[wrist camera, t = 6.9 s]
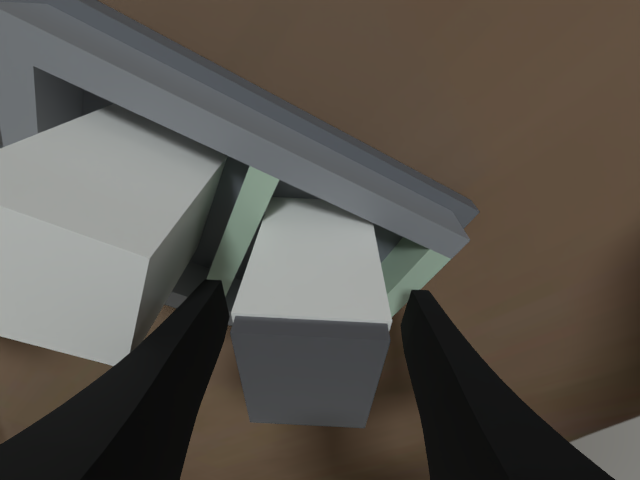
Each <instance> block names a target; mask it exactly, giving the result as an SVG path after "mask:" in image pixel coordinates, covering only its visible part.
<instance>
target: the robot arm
mask: <svg viewBox="0 0 640 480" xmlns="http://www.w3.org/2000/svg"><path fill="white" fill-rule="evenodd" d="M229 317H230V316H229V311H228V307H227V302H226V298H225V293H224V289H223V285H222V280H208V279H205V280H204V281H203V282H202V283H201V284H200V285H199V286H198V287H197V288H196V289H195V290H194V291H193V292H192V293H191V294H190V295H189V296H188V297H187V298H186V299H185V300H184V302H183V303H182V304H181V305H180V306H179V307H178V308H177V309H176V310H175V311H174V312H173V313H172V314H171V315H170V316H169V317H168V318H167V319H166V320H165V321H164V322H163V323H162V324H161V325H160V326H159V327H158V328H157V329H156V330H154V331H153V332H152V333H151V334H150V335H149V336H148V337H147V338H146V339H145V340H144V341H142V342H141V343H140V344H139V345H138V346H137V347H136V348H135V349H134V350H132V351H131V352H130V353H129V354H128V355H127V356H125V357H124V358H123V359H122V360H121V361H120V362H118V363H117V364H116V365H115V366H113V367H112V368H111V369H110V370H108V371H107V372H106V373H105V374H103V375H102V376H101V377H99V378H98V379H97V380H95V381H94V382H93V383H91V384H90V385H89V386H87V387H86V388H85V389H83V390H82V391H81V392H79V393H78V394H76V395H75V396H74V397H72V398H71V399H70V400H68V401H67V402H65V403H64V404H63V405H61V406H60V407H58V408H57V409H55V410H54V411H52V412H51V413H49V414H48V415H46V416H44V417H43V418H41V419H40V420H38V421H37V422H35V423H34V424H32V425H31V426H29V427H28V428H26V429H25V430H23V431H22V432H20V433H18V434H17V435H15V436H14V437H12V438H10V439H9V440H7V441H5V442H4V443H2V444H0V480H180V476H181V472H182V468H183V465H184V461H185V457H186V453H187V449H188V445H189V441H190V438H191V434H192V431H193V427H194V423H195V420H196V416H197V413H198V410H199V407H200V404H201V401H202V399H203V396H204V393H205V391H206V388H207V385H208V383H209V380H210V377H211V375H212V372H213V369H214V367H215V364H216V361H217V359H218V356H219V353H220V351H221V348H222V345H223V342H224V338H225V334H226V330H227V326H228V322H229ZM401 332H402V341H403V348H404V354H405V358H406V362H407V366H408V370H409V374H410V378H411V382H412V386H413V390H414V394H415V398H416V402H417V406H418V410H419V414H420V418H421V423H422V428H423V434H424V440H425V446H426V453H427V459H428V466H429V473H430V480H615V479H614V478H612V477H611V476H610V475H608V474H607V473H606V472H605V471H603V470H602V469H601V468H600V467H598V466H597V465H596V464H595V463H593V462H592V461H591V460H590V459H588V458H587V457H586V456H585V455H584V454H582V453H581V452H580V451H579V450H577V449H576V448H575V447H574V446H573V445H571V444H570V443H569V442H568V441H567V440H566V439H564V438H563V437H562V436H561V435H560V434H559V433H558V432H556V431H555V430H554V429H553V428H552V427H551V426H550V425H549V424H547V423H546V422H545V421H544V420H543V419H542V418H541V417H539V416H538V415H537V414H536V413H535V412H534V411H533V410H532V409H531V408H530V407H529V406H527V405H526V404H525V403H524V402H523V401H522V400H521V399H520V398H519V397H518V396H517V395H516V394H515V393H514V392H513V391H512V390H511V389H510V388H509V387H508V386H507V385H506V384H505V383H504V382H503V381H502V380H501V379H500V378H499V377H498V375H497V374H496V373H495V372H494V371H493V370H492V369H491V368H490V367H489V366H488V364H487V363H486V362H485V361H484V360H483V359H482V358H481V357H480V355H479V354H478V353H477V352H476V351H475V350H474V348H473V347H472V346H471V345H470V344H469V342H468V341H467V340H466V339H465V337H464V336H463V335H462V334H461V332H460V331H459V330H458V329H457V327H456V326H455V325H454V324H453V322H452V321H451V320H450V318H449V317H448V316H447V314H446V313H445V312H444V310H443V309H442V308H441V306H440V305H439V304H438V302H437V301H436V300H435V298H434V297H433V295H432V294H431V293H430V292H429V290H411V293H410V297H409V300H408V303H407V306H406V310H405V313H404V316H403V319H402V323H401Z"/></svg>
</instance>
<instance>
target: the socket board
mask: <svg viewBox="0 0 640 480" xmlns="http://www.w3.org/2000/svg"><path fill="white" fill-rule="evenodd" d="M271 197H283V198H303V199H322V200H325V201H327V202H329V203H331V204H333V205H335V206H338V207H340V208H342V209H344V210H346V211H348V212H351V213H353V214H355V215H357V216H359V217H361V218H364V219H366V220H368V221H370V222H372V223H373V227H374V232H375V237H376V242H377V247H378V252H379V257H380V262H381V267H382V272H383V277H384V282H385V287H386V292H387V297H388V302H389V307H390V312H391V317H393V316H394V315H395V314H396V313H397V312H398V311H399V310H400V309H401V308H402V307H403V306H404V305H405V304H406V303H407V302H408V300H409V297H410V293H411V290H420V289H421V288H422V287H423V286H424V285H425V284H426V283H427V282H428V281H429V280H430V279H431V278H432V277H433V276H434V275H435V274H436V273H437V272H438V271H440V270H441V269H442V268H443V267H444V266H445V265H446V264H447V263H448V262H449V261H450V260H451V259H452V258H453V257H454V256H455V255H456V254H457V253H458V252H459V251H460V250H461V249H462V248H463V247H464V246H465V245H466V244H467V243H468V242H469V241H470V239H469V237H468V236H467V234H466V232H465V231H464V228H465V227H466V226H467V225H468V224H469V223H470V221H471V220H472V219H473V218H474V217H475V216H476V215H477V214H478V213H479V212H480V211H479V210H478V209H477V208H476V206H475V205H474V204H473V202H472V201H471V200H470V199H468V198H466V197H464V196H462V195H460V194H459V193H457V192H455V191H453V190H451V189H449V188H447V187H445V186H444V185H442V184H440V183H438V182H436V181H434V180H432V179H430V178H429V177H427V176H425V175H423V174H421V173H419V172H417V171H416V170H414V169H412V168H410V167H408V166H406V165H404V164H402V163H401V162H399V161H397V160H395V159H393V158H391V157H389V156H387V155H386V154H384V153H382V152H380V151H378V150H376V149H374V148H372V147H371V146H369V145H367V144H365V143H363V142H361V141H359V140H357V139H356V138H354V137H352V136H350V135H348V134H346V133H344V132H342V131H341V130H339V129H337V128H335V127H333V126H331V125H329V124H327V123H326V122H324V121H322V120H320V119H318V118H316V117H314V116H313V115H311V114H309V113H307V112H305V111H303V110H301V109H299V108H298V107H296V106H294V105H292V104H290V103H288V102H286V101H284V100H283V99H281V98H279V97H277V96H275V95H273V94H271V93H269V92H268V91H266V90H264V89H262V88H260V87H258V86H256V85H254V84H253V83H251V82H249V81H247V80H245V79H243V78H241V77H239V76H238V75H236V74H234V73H232V72H230V71H228V70H226V69H224V68H223V67H221V66H219V65H217V64H215V63H213V62H211V61H210V60H208V59H206V58H204V57H202V56H200V55H198V54H196V53H195V52H193V51H191V50H189V49H187V48H185V47H183V46H181V45H180V44H178V43H176V42H174V41H172V40H170V39H168V38H166V37H165V36H163V35H161V34H159V33H157V32H155V31H153V30H151V29H150V28H148V27H146V26H144V25H142V24H140V23H138V22H136V21H135V20H133V19H131V18H129V17H127V16H125V15H123V14H121V13H120V12H118V11H116V10H114V9H112V8H110V7H108V6H107V5H105V4H103V3H101V2H99V1H97V0H0V336H1V337H5V338H9V339H13V340H16V341H20V342H24V343H28V344H32V345H36V346H39V347H43V348H47V349H51V350H55V351H59V352H63V353H66V354H70V355H74V356H78V357H82V358H86V359H89V360H93V361H97V362H101V363H105V364H109V365H112V366H115V365H116V364H117V363H118V362H120V361H121V360H122V359H123V358H124V357H125V356H127V355H128V354H129V353H130V352H131V351H132V350H134V349H135V348H136V347H137V346H138V345H139V344H140V343H141V342H142V341H143V340H144V338H145V336H146V335H147V333H148V331H149V330H150V328H151V326H152V324H153V323H154V321H155V319H156V318H157V316H158V314H159V313H160V311H161V309H162V307H163V306H164V304H165V305H168V306H171V307H174V308H178V307H179V306H180V305H181V304H182V303H183V302H184V300H185V299H186V298H187V297H188V296H189V295H190V294H191V293H192V292H193V291H194V290H195V289H196V288H197V287H198V286H199V285H200V284H201V283H202V282H203V281H204V280H205V279H208V280H222V285H223V289H224V293H225V298H226V302H227V307H228V311H229V316H230V317H229V322H228V325H230V326H232V325H233V320H232V316H231V311H232V308H233V305H234V302H235V300H236V297H237V294H238V291H239V288H240V285H241V282H242V279H243V276H244V273H245V270H246V267H247V264H248V262H249V259H250V256H251V253H252V250H253V247H254V244H255V241H256V238H257V235H258V232H259V229H260V226H261V224H262V221H263V218H264V215H265V212H266V209H267V206H268V203H269V201H270V199H271Z"/></svg>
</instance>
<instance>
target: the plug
mask: <svg viewBox="0 0 640 480" xmlns="http://www.w3.org/2000/svg"><path fill="white" fill-rule="evenodd" d="M231 316H232V320H233V325H232V328H231V331H230V335H231V339H232V344H233V348H234V352H235V357H236V361H237V366H238V370H239V375H240V379H241V383H242V388H243V392H244V397H245V401H246V406H247V410H248V414H249V419H250V422H256V423H275V424H294V425H314V426H333V427H352V428H365V426H366V422H367V419H368V416H369V412H370V409H371V405H372V402H373V399H374V395H375V392H376V389H377V385H378V382H379V378H380V375H381V372H382V368H383V365H384V362H385V358H386V355H387V351H388V348H389V345H390V341H391V340H390V335H389V331H390V327H391V324H392V317H391V312H390V307H389V302H388V297H387V292H386V287H385V282H384V277H383V272H382V267H381V262H380V257H379V252H378V247H377V242H376V237H375V232H374V227H373V223H372V222H370V221H368V220H366V219H364V218H361V217H359V216H357V215H355V214H353V213H351V212H348V211H346V210H344V209H342V208H340V207H338V206H335V205H333V204H331V203H329V202H327V201H325V200H322V199H303V198H283V197H271V199H270V201H269V203H268V206H267V209H266V212H265V215H264V218H263V221H262V224H261V226H260V229H259V232H258V235H257V238H256V241H255V244H254V247H253V250H252V253H251V256H250V259H249V262H248V264H247V267H246V270H245V273H244V276H243V279H242V282H241V285H240V288H239V291H238V294H237V297H236V300H235V302H234V305H233V308H232V311H231Z"/></svg>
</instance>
